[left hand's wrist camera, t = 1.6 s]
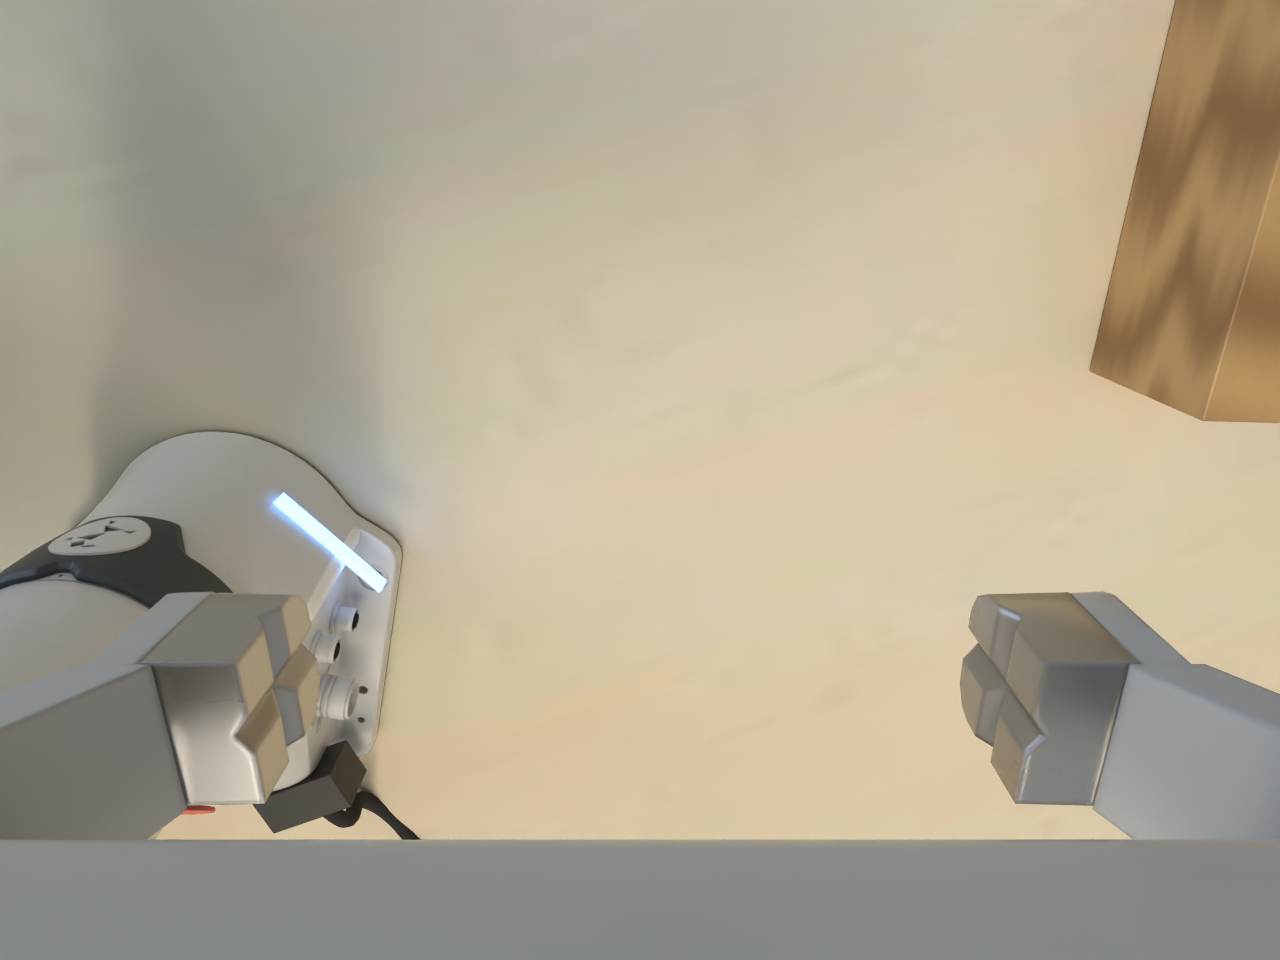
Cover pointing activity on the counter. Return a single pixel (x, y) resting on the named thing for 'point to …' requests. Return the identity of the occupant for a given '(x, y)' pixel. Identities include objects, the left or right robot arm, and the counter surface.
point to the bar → (1204, 224)
